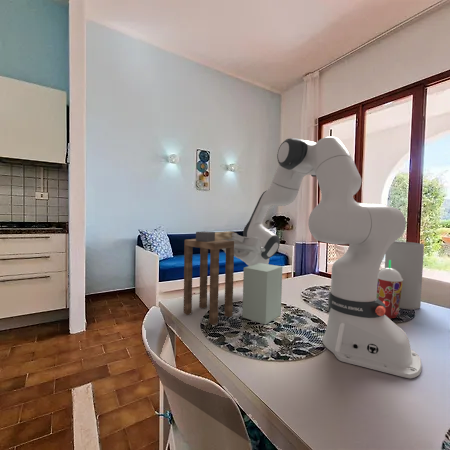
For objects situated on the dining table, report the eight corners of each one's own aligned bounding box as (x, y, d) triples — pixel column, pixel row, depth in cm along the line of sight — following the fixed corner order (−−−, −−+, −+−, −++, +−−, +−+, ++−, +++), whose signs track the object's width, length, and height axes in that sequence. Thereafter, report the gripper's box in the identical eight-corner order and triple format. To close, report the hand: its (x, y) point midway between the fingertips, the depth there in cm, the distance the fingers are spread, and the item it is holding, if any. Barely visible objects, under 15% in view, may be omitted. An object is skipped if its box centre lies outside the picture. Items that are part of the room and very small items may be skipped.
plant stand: (232, 315, 90) (234, 241, 89) (213, 324, 82) (215, 243, 81) (203, 305, 99) (204, 237, 97) (183, 313, 91) (184, 239, 90)
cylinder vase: (376, 301, 108) (379, 241, 107) (395, 297, 113) (398, 241, 112) (408, 312, 96) (411, 245, 95) (427, 307, 102) (431, 244, 100)
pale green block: (280, 314, 92) (282, 266, 91) (265, 324, 83) (267, 271, 82) (258, 308, 97) (260, 263, 96) (242, 317, 89) (243, 267, 88)
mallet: (226, 237, 101) (226, 229, 101) (237, 238, 98) (237, 230, 98) (195, 240, 88) (196, 231, 87) (206, 242, 84) (206, 232, 84)
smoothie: (406, 320, 89) (409, 262, 88) (382, 319, 89) (385, 262, 88) (391, 311, 97) (394, 258, 96) (369, 310, 97) (371, 257, 96)
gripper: (264, 259, 99) (248, 244, 90) (223, 253, 112) (204, 239, 102) (269, 244, 102) (253, 228, 92) (227, 240, 114) (210, 225, 104)
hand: (227, 234), depth 97 cm, fingers open, 4 cm apart
